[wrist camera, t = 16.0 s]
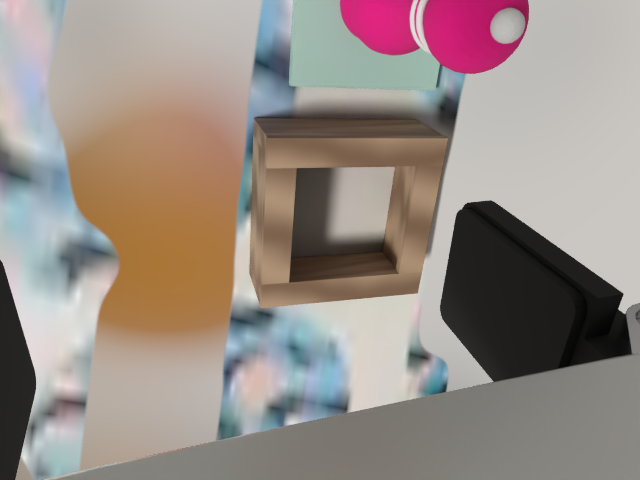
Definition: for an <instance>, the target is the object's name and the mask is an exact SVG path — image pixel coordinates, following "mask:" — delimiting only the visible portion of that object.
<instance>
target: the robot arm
mask: <svg viewBox="0 0 640 480" xmlns="http://www.w3.org/2000/svg"><path fill="white" fill-rule="evenodd" d="M622 297H623V293H622V292H620V291H619V290H617V289H616V288H615V287H613V286H612V285H610V284H609V283H608V282H606V281H605V280H603V279H602V278H601V277H599V276H598V275H596V274H595V273H594V272H592V271H591V270H589V269H588V268H586V267H585V266H584V265H582V264H581V263H579V262H578V261H577V260H575V259H574V258H572V257H571V256H569V255H568V254H567V253H565V252H564V251H562V250H561V249H560V248H558V247H557V246H556V245H554V244H553V243H551V242H550V241H548V240H547V239H546V238H544V237H543V236H541V235H540V234H539V233H537V232H536V231H534V230H533V229H532V228H530V227H529V226H527V225H526V224H525V223H523V222H522V221H520V220H519V219H517V218H516V217H515V216H513V215H512V214H510V213H509V212H508V211H506V210H505V209H503V208H502V207H501V206H499V205H498V204H496V203H495V202H493V201H481V202H471V203H467V204H465V205H464V207H463V208H462V210H460V211H458V213H457V215H456V220H455V225H454V231H453V237H452V242H451V248H450V253H449V259H448V265H447V270H446V276H445V282H444V287H443V294H442V299H441V305H440V311H441V316H442V318H443V320H444V322H445V323H446V324H447V325H448V327H449V328H450V329H451V330H452V332H453V333H454V334H455V335H456V336H457V338H458V339H459V340H460V341H461V343H462V344H463V345H464V346H465V347H466V348H467V350H468V351H469V352H470V353H471V355H472V356H473V357H474V358H475V359H476V361H477V362H478V363H479V364H480V366H481V367H482V368H483V369H484V370H485V372H486V373H487V374H488V375H489V377H490V378H491V379H492V380H493V381H494V382H492V383H487V384H482V385H478V386H473V387H468V388H463V389H459V390H454V391H449V392H445V393H440V394H435V395H430V396H426V397H421V398H416V399H412V400H407V401H402V402H398V403H393V404H388V405H383V406H379V407H374V408H369V409H365V410H360V411H355V412H350V413H346V414H341V415H336V416H331V417H327V418H322V419H317V420H313V421H308V422H303V423H298V424H294V425H289V426H284V427H279V428H275V429H270V430H265V431H261V432H256V433H251V434H246V435H242V436H237V437H232V438H228V439H223V440H219V441H214V442H210V443H205V444H200V445H196V446H191V447H186V448H182V449H177V450H172V451H168V452H163V453H159V454H154V455H149V456H145V457H141V458H136V459H131V460H127V461H122V462H117V463H113V464H108V465H103V466H99V467H94V468H90V469H85V470H80V471H76V472H71V473H67V474H62V475H58V476H54V477H50V478H46V479H42V480H640V303H638V304H635V305H632V306H631V307H629V308H628V309H627V311H626V314H623V313H622V312H621V311H619V310H618V307H619V305H620V302H621V299H622ZM35 391H36V376H35V371H34V367H33V364H32V360H31V357H30V354H29V350H28V347H27V344H26V340H25V337H24V333H23V330H22V327H21V323H20V320H19V317H18V313H17V310H16V306H15V303H14V300H13V296H12V293H11V290H10V286H9V283H8V279H7V276H6V273H5V269H4V266H3V263H2V262H1V260H0V480H15V478H16V473H17V469H18V465H19V460H20V456H21V452H22V447H23V443H24V439H25V434H26V430H27V426H28V421H29V417H30V413H31V408H32V404H33V400H34V395H35Z"/></svg>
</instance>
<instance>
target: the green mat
mask: <svg viewBox="0 0 640 480" xmlns="http://www.w3.org/2000/svg"><path fill="white" fill-rule="evenodd" d="M439 67H440V63H439V62H438V61H437V60H436V59H435V57H434V56H433V55H432V54H429V53H427V52H425V51H424V50H422V49H421V48H419V49H418V50H416V51H414V52H411V53H407V54H404V55H395V56H392V55H386V54H381V53H378V52H375V51H373V50H371V49H370V48H368V47H367V46H366V45H365V44H364V43H363V42H362V41H361V40H360V39H359V38H357V37H356V36H354V35H353V34H352V33H351V32H350V31H349V29H348V28H347V27H346V25H345V23H344V21H343V19H342V16H341V11H340V0H293V17H292V35H291V53H290V71H289V85H290V86H304V87H336V88H368V89H401V90H433V91H435V89H436V83H437V78H438V72H439Z"/></svg>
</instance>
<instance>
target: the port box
mask: <svg viewBox="0 0 640 480" xmlns="http://www.w3.org/2000/svg"><path fill="white" fill-rule="evenodd" d="M447 142H448V138H447V137H445V136H443V135H442V134H440V133H438V132H436V131H435V130H433V129H431V128H430V127H428V126H426V125H425V124H423V123H421V122H419V121H418V120H387V119H307V118H254V132H253V168H252V204H251V240H250V276H251V279H252V282H253V285H254V288H255V291H256V294H257V297H258V300H259V303H260V306H261V308H266V307H276V306H287V305H298V304H308V303H319V302H329V301H340V300H351V299H361V298H372V297H383V296H393V295H404V294H415V293H418V289H419V284H420V279H421V274H422V269H423V264H424V258H425V253H426V248H427V243H428V238H429V233H430V228H431V223H432V218H433V213H434V208H435V203H436V198H437V193H438V188H439V183H440V178H441V173H442V168H443V163H444V157H445V152H446V147H447ZM394 166H395V172H394V178H393V185H392V191H391V198H390V204H389V211H388V217H387V223H386V230H385V236H384V243H383V249H382V252H371V253H356V254H341V255H326V256H311V257H296V258H291V246H292V231H293V217H294V202H295V187H296V172H297V168H331V167H394Z"/></svg>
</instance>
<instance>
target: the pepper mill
mask: <svg viewBox="0 0 640 480" xmlns="http://www.w3.org/2000/svg"><path fill="white" fill-rule="evenodd" d="M340 11H341V16H342V19H343V21H344V23H345V25H346V27H347V28H348V29H349V31H350V32H351V33H352V34H353V35H354V36H356V37H357V38H359V39H360V40H361V41H362V42H363V43H364V44H365V45H366V46H367V47H368V48H370V49H371V50H373V51H375V52H378V53H381V54H386V55H392V56H395V55H404V54H407V53H411V52H414V51H416V50H418V49H419V48H421V49H422V50H424V51H425V52H427V53H429V54H432V55H433V56H434V57H435V59H436V60H437V61H438V62H439V63H440V64H441V65H443V66H445V67H447V68H449V69H451V70H453V71H455V72H460V73H470V74H475V73H480V72H485V71H487V70H491V69H493V68H495V67H497V66H498V65H500V64H501V63H502V62H504V61H505V60H506V59H507V58H508V57H509V56H510V55H511V54H512V53H513V52H514V51H515V49H516V48H517V47H518V46H519V44H520V42H521V40H522V38H523V36H524V34H525V31H526V29H527V24H528V19H529V18H528V17H529V5H528V0H340Z"/></svg>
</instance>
